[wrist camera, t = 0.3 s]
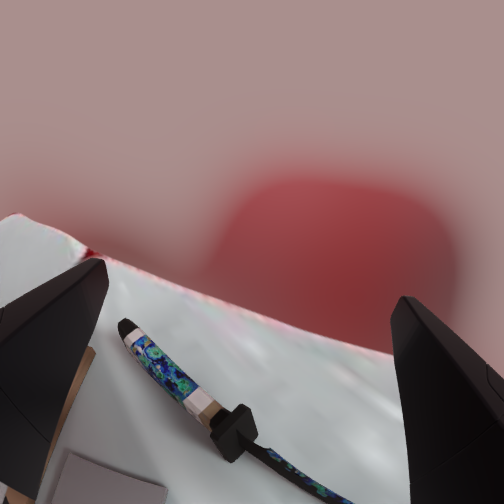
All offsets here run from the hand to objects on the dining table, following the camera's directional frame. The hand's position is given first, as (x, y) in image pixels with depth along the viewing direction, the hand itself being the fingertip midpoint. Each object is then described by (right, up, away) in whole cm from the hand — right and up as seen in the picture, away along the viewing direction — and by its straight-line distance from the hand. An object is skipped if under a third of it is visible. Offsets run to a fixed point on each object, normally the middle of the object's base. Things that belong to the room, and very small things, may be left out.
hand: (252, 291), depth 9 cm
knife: (+2, -14, +9) cm, 17 cm away
